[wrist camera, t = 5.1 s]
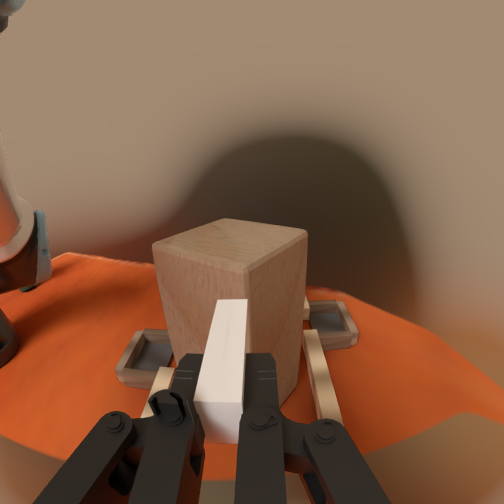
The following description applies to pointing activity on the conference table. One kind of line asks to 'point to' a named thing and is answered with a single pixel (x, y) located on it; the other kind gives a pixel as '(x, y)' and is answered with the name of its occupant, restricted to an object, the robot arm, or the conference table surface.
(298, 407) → the conference table surface
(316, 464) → the robot arm
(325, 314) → the tray
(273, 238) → the wooden block
